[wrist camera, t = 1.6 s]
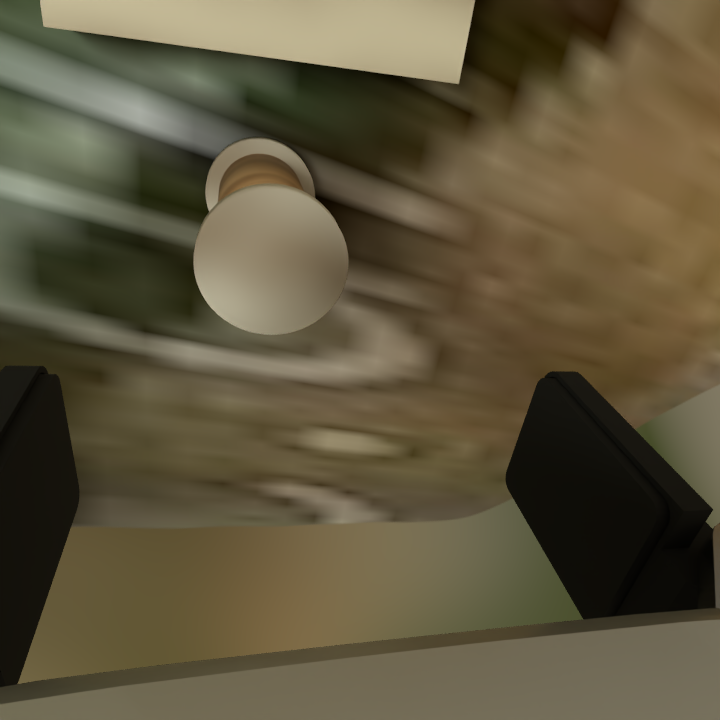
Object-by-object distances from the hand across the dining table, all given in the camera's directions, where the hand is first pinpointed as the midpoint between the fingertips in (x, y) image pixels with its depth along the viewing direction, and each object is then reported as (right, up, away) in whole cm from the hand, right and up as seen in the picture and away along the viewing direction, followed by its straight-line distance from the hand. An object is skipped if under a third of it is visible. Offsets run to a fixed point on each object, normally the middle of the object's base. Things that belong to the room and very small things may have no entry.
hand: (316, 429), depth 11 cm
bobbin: (-4, +10, +16) cm, 19 cm away
